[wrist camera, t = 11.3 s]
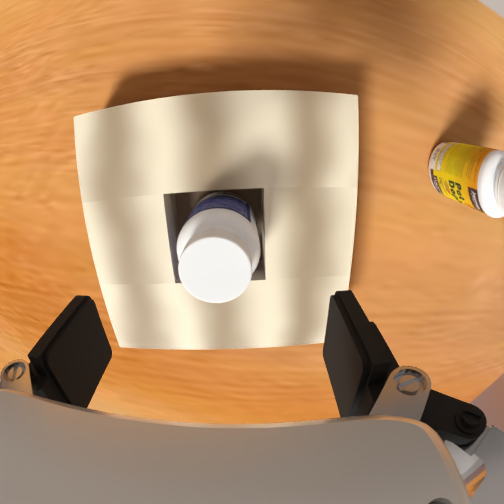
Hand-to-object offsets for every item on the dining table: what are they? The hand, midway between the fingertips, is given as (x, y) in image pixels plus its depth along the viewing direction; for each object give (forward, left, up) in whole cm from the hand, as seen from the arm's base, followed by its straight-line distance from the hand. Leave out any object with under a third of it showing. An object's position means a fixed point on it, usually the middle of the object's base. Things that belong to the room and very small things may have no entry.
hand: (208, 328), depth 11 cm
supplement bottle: (-22, -5, -15) cm, 27 cm away
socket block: (+1, 0, -15) cm, 15 cm away
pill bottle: (0, 0, -14) cm, 14 cm away
